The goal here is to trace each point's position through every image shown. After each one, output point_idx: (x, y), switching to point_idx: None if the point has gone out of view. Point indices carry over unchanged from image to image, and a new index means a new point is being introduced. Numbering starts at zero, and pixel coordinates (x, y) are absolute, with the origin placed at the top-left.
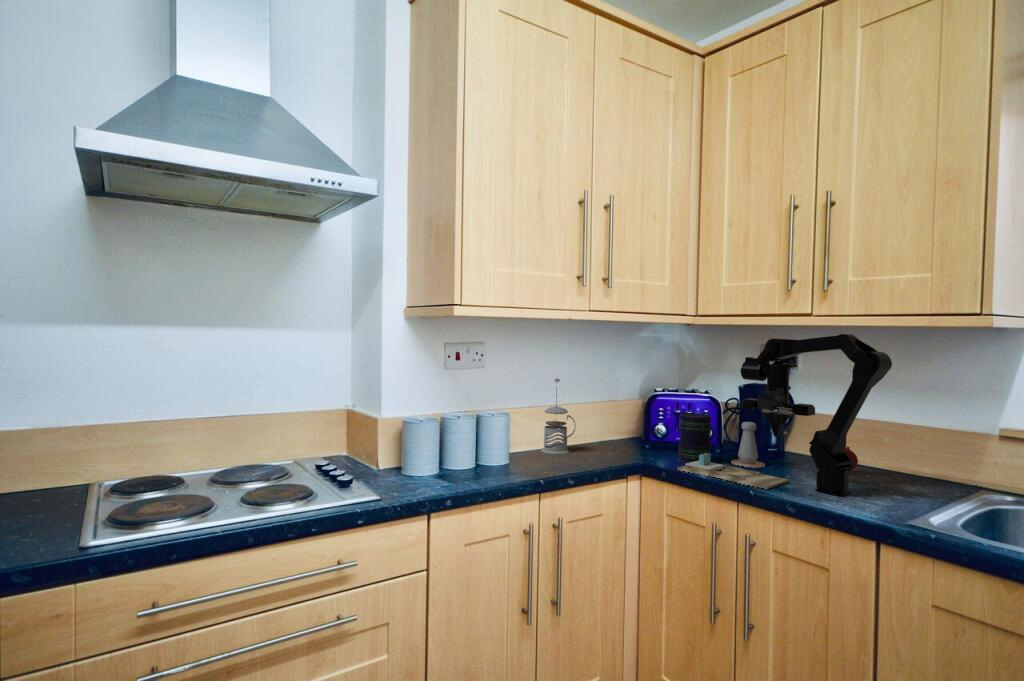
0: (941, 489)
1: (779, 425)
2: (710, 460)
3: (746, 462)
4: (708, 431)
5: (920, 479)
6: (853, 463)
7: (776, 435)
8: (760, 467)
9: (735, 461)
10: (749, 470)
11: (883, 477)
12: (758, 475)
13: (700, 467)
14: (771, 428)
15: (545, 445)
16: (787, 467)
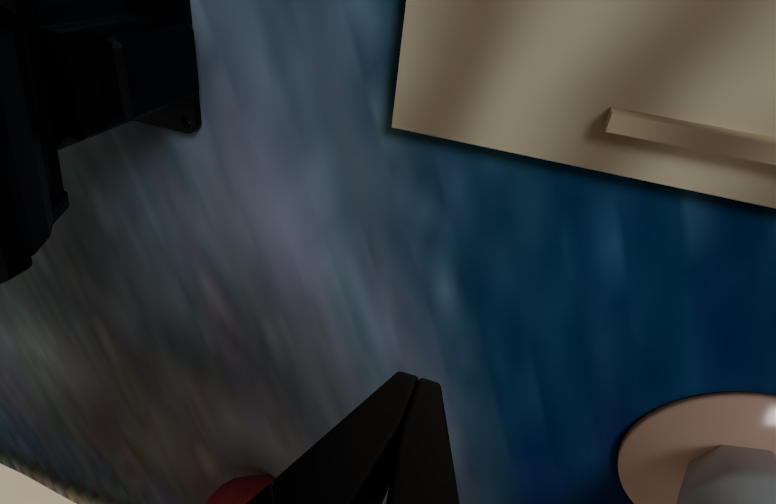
0: (2, 379)
1: (262, 501)
2: None
3: (751, 454)
4: None
5: (98, 474)
6: (211, 496)
7: (397, 382)
8: (640, 420)
9: None
10: (710, 141)
11: (164, 457)
12: (614, 97)
13: None
14: (455, 490)
15: None
16: (496, 478)
